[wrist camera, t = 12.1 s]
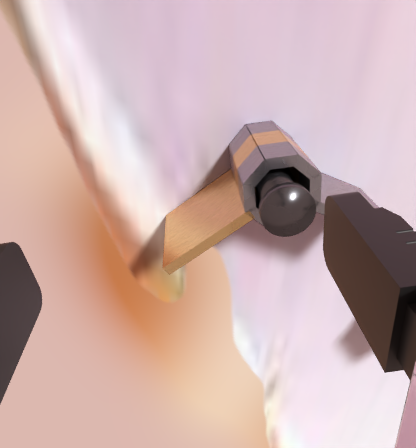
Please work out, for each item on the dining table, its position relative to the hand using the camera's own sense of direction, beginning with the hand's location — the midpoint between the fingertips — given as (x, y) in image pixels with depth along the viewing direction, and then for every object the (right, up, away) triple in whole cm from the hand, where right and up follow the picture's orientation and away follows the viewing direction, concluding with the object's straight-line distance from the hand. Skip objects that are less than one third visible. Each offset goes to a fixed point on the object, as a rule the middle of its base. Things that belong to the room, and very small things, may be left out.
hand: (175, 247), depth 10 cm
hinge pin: (+6, +9, +32) cm, 34 cm away
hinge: (+7, +7, +33) cm, 34 cm away
